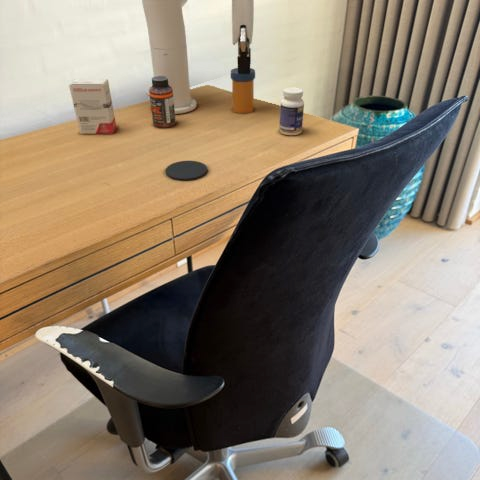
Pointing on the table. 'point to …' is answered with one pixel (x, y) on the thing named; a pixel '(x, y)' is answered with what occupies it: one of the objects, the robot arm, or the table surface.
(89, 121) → the ink box
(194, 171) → the coaster
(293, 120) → the pill bottle
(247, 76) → the jar lid
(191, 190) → the table surface
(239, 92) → the jar
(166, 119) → the supplement bottle
